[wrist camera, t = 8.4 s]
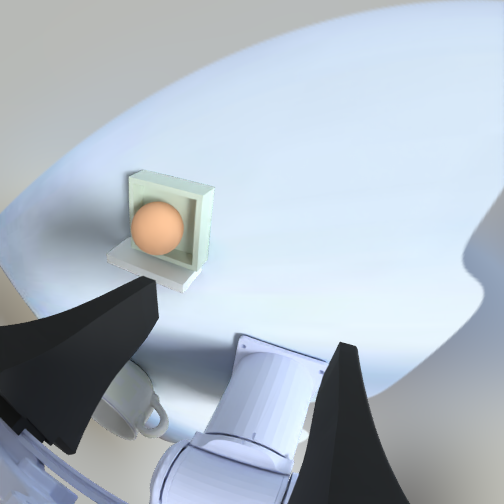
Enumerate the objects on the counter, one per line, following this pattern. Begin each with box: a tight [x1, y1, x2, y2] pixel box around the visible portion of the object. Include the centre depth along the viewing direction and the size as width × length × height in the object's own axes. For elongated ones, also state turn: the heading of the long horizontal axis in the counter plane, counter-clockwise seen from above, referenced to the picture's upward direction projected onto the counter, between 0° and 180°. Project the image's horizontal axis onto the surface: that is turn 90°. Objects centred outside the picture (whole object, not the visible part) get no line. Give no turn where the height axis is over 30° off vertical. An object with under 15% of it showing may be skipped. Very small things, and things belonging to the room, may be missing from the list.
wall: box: [106, 237, 202, 293], centre depth 23 cm, size 1×7×3 cm, turn 82°
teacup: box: [91, 360, 169, 440], centre depth 33 cm, size 14×11×8 cm
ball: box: [131, 201, 184, 255], centre depth 20 cm, size 4×4×4 cm
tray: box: [129, 170, 215, 272], centre depth 21 cm, size 6×6×2 cm
